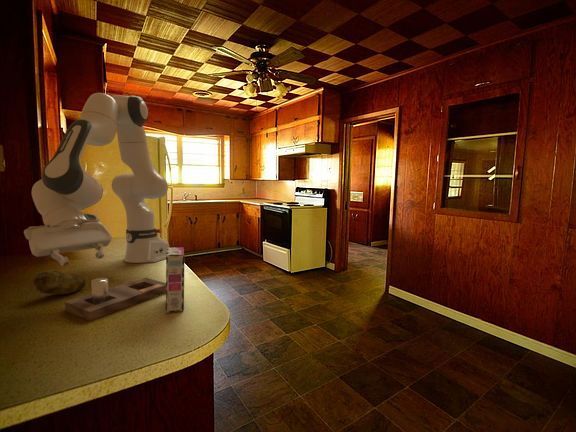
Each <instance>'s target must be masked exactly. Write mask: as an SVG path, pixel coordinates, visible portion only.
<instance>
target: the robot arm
mask: <svg viewBox="0 0 576 432" xmlns="http://www.w3.org/2000/svg"><path fill="white" fill-rule="evenodd" d="M80 113H81V114H80V116H79V119H77V120H76V119H75V120H74V121H73V122H72V123H71V124H70V125H69V126H68V127H67V130H66V131H65V133H64V135H63V137H62V139H61V141H60V143H59V144H58V146H57V149H56V150H55V153H54V155H53V156H52V158H51V159H50V160H49V161H48V162H47V163H46V165H45V166H44V168H43V170H42V173H41V179H39V180H38V181H36V182H35V183H34V184H33V186H32V187H31V188H32V189H31V197H32V201H33V203H34V206H35V208H36V210H37V212H38V213H39V214H40V215H41V216H42V222H43V224H44V225H38V226H37V225H36V226H34V225H33V226H28V228H26V229H24V230H23V234H24V235H23V236H24V237H25V239H26V240H28V245H29V249H30V251H31V255H33V256H35V257H37V258H39V257H47V256H50V257H51V258H52V259H53V260H55V261H57V262H59V264H60V266H61V267H63V266H68V265H69V264H70V260H69V258H68V256H63V255H62V254H65V253H66V254H67V253H72V252H78V251H84V250H90V249H94V250H96V253H95V254H94V256H95V258H96V259H97V260H100V259H103V258H104V257H105V254H104V252H103V250H104V248H105V247H107V246H109V245H110V243H111V241H112V238H113V236H112V234H111V233H110V231H109V229H108V228H107V226H106V225H105V224H104V223H102V222H101V221H100V217H99V215H97V214H92V213H91V214H90V213H85V212H81V211H82V210H85V209H88V208H90V207H92V206H94V205H95V204H97V203H98V202H99V201H100V200H101V199H102V197H103V195H104V188H103V185H102V184H101V182H99V181H98V180H96V178H94V177H93V176H92V175H90V174H89V172H87V171H86V170H85V169H84V168H83V166H82V162H81V158H82V156H83V154H84V152H85V149H86V147H87V146H88V145H89V146H93V147H103V146H107V145H110V144H111V143H112V142H113V141H114V139H115V137H116V135H117V142H118V150H119V153H120V154H119V155H120V160H121V161H122V163H123V164H124V165H126V166H127V167H129V169H130V170H131V171H132V173H122V174H118V175H116V176H114V178H113V179H112V180H111V181H112V182H111V189H112V192H113V194H115V195H116V196H117V197H118V198H119V199H120V201H121V202H122V204H123V207H124V210H125V214H126V229H125V239H126V247H125V249H126V250H125V254H124V258H123V262H125V263H131V264H132V263H133V264H139V263H140V264H143V263H156V262H160V261H163V260H166V252H167V248H171V247H170V244H169V242H167V241H166V240H165V239H163V238H162V237H160V236H159V235H158V234H161V233H162V232H163V230H162V228H155V213H154V211H153V209H152V208H150V207H149V206H148V204H147V203H146V201H145V200H155V199H161V198H163V197H165V196H166V194H167V193H168V189H169V186H168V185H169V183H168V181H167V180H166V178H165V177H164V176H162V175H161V174H160V173H159V172H158V171H157V170H156V168H155V167H154V165H153V163H152V161H151V157H150V152H149V146H148V140H147V135H146V131H145V126H144V124H145V123H146V122H147V120H148V118H149V109H148V106H147V103H146V101H145V100H144V99H143V98H142V97H140V96H137V95H130V96H129V95H125V94H124V95H123V94H122V95H121V94H114V95H109V94H107V93H103V92H96V93H92V94H91V95H90V96H89V97H88V98H87V100H86V102H85V103H84V106H83V108H82V111H81V112H80Z"/></svg>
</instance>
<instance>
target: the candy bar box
mask: <svg viewBox="0 0 576 432" xmlns="http://www.w3.org/2000/svg"><path fill="white" fill-rule="evenodd" d="M184 250H185V249H184V246H183V247H182V246H179V247H178V246H175V247H170V248H167V252H166V259H165V283H166V293H165V313H167V312H170V313H176V312H175V311H180V312H184V310H185V308H184V307H185V251H184Z"/></svg>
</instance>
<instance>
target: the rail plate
mask: <svg viewBox="0 0 576 432" xmlns="http://www.w3.org/2000/svg"><path fill="white" fill-rule="evenodd" d="M165 292H166V282H163V281H160V280H157V279H152V278H150V277H142V278H140V279H137V280H133V281H130V282H126V283H123V284H119V285H116V286H113V287H108V298H109V301H106V302H103V303H100V304H97V305H94V304H92V293H89V294H86V295H83V296H79V297H75V298H73V299H69V300H66V301H64V309H65V311H66V312H68V313H71V314H73V315H75V316H78V317H79V318H82V319H84V320H87V321H90V322H91V321H93V320H96V319H99V318H101V317H104V316H108V315H109V314H112V313H115V312H118V311H120V310H123V309H125V308H129V307H131V306H135V305H137V304H139V303H143V302H146V301H147V299H148V300H150V298H151V299H154V298H156V297H158V296H157V295H159V296H161V295H163V294H162V293H164V294H166V293H165ZM160 294H161V295H160ZM155 296H156V297H155ZM142 301H143V302H142Z"/></svg>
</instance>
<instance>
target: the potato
mask: <svg viewBox="0 0 576 432" xmlns="http://www.w3.org/2000/svg"><path fill="white" fill-rule="evenodd" d="M32 281H33V285H34V286H35V288H36V290H37V291H39V292H40V293H43V294H54V295H59V296H63V295H64V296H65V295H69V294H73V293H75V292H78V291H80V290H81V289H83V288H84V287H85V286H86V278H85V277H84V276H82V275H79V274H75V273H68V272H63V271H61V270H56V269H54V270H53V269H52V270H50V269H49V270H44V271H42V272H40V273H38V274H36V275H35V277H34V278H33V280H32Z"/></svg>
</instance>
